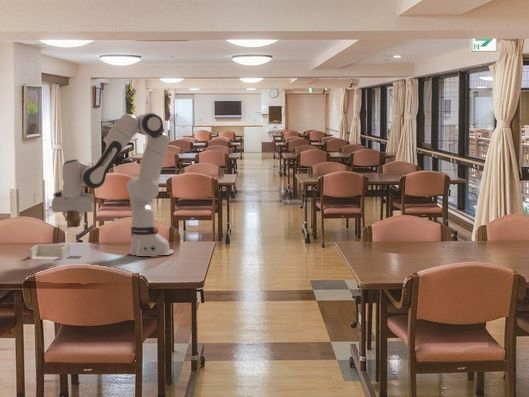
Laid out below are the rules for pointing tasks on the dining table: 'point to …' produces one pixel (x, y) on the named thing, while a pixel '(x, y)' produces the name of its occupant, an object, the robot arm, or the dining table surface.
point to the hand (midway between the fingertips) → (73, 221)
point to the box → (49, 251)
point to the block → (73, 219)
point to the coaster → (73, 257)
